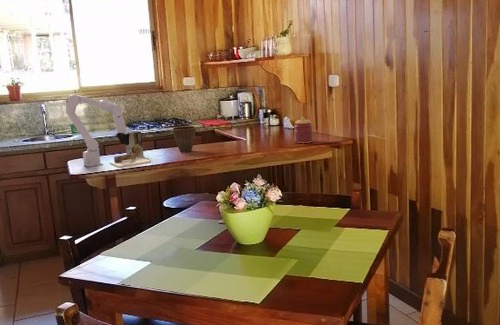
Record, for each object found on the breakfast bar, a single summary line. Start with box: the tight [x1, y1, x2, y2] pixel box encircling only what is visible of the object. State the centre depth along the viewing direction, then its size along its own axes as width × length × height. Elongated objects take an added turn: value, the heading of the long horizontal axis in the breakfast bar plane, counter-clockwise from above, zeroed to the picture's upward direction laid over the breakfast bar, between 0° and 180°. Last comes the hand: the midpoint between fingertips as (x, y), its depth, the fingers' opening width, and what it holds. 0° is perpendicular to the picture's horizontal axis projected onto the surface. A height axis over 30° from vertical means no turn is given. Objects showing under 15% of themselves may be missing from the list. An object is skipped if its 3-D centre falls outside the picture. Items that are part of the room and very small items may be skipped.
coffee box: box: [125, 130, 145, 158], centre depth 331 cm, size 9×6×16 cm
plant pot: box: [172, 125, 196, 153], centre depth 341 cm, size 15×15×16 cm
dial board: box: [109, 156, 152, 168], centre depth 312 cm, size 20×16×1 cm
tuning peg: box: [113, 153, 137, 162], centre depth 314 cm, size 13×4×3 cm, turn 123°
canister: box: [293, 116, 314, 143], centre depth 351 cm, size 13×13×18 cm
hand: (125, 144), depth 319 cm, fingers open, 7 cm apart
